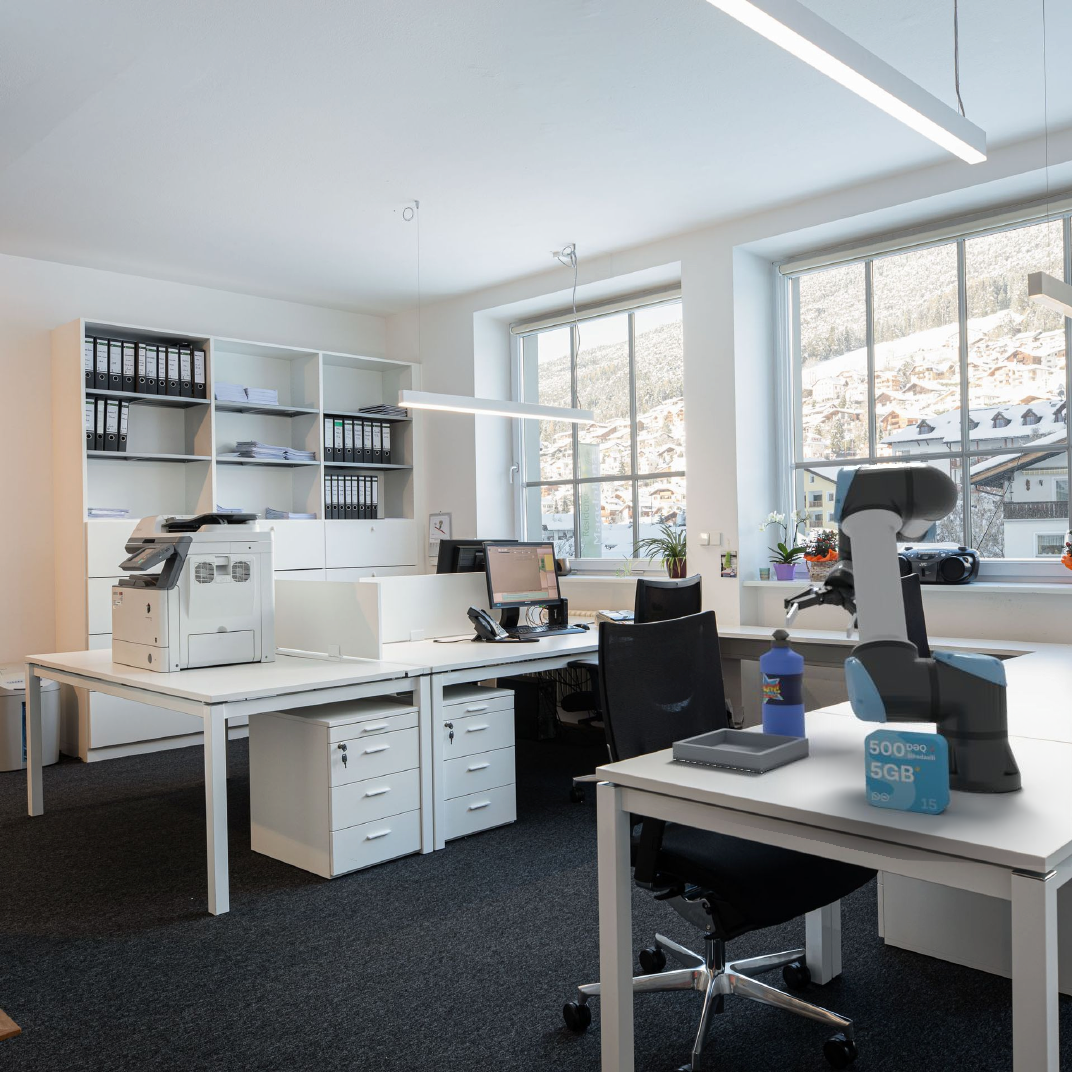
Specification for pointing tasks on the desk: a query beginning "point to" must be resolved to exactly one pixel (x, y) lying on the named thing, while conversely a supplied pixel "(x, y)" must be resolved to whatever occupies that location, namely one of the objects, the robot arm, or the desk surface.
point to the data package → (907, 771)
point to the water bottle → (782, 688)
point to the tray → (741, 749)
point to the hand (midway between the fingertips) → (817, 627)
